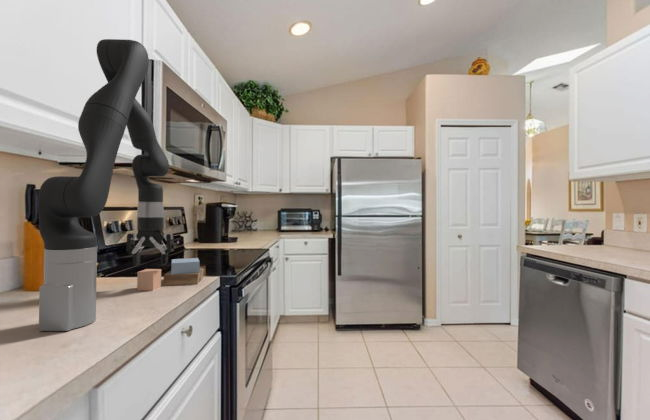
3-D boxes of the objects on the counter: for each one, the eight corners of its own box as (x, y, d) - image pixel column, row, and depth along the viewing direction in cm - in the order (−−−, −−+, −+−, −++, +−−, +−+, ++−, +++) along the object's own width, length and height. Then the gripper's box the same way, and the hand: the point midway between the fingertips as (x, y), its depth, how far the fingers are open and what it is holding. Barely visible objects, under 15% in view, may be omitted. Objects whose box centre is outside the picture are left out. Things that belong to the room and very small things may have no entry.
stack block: (153, 290, 98) (153, 272, 98) (137, 290, 98) (137, 272, 98) (161, 287, 103) (161, 269, 103) (145, 286, 103) (146, 269, 103)
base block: (197, 285, 107) (197, 274, 107) (163, 286, 105) (163, 275, 105) (203, 278, 118) (203, 268, 118) (172, 279, 116) (172, 268, 116)
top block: (199, 272, 109) (199, 261, 109) (171, 274, 105) (171, 263, 105) (197, 268, 117) (198, 257, 117) (171, 270, 114) (171, 259, 114)
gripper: (121, 216, 96) (121, 267, 97) (167, 216, 97) (166, 267, 97) (135, 215, 104) (135, 262, 104) (177, 215, 104) (177, 263, 105)
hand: (150, 265), depth 101 cm, fingers open, 8 cm apart
